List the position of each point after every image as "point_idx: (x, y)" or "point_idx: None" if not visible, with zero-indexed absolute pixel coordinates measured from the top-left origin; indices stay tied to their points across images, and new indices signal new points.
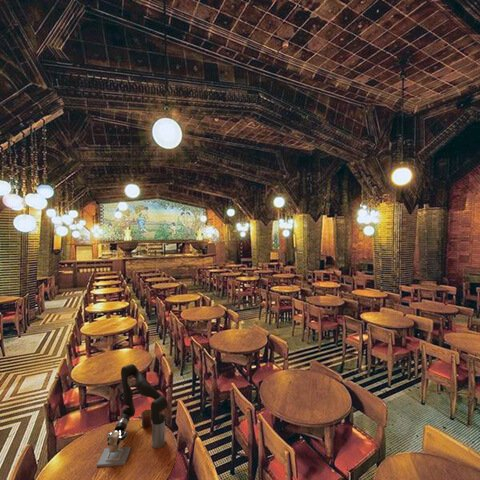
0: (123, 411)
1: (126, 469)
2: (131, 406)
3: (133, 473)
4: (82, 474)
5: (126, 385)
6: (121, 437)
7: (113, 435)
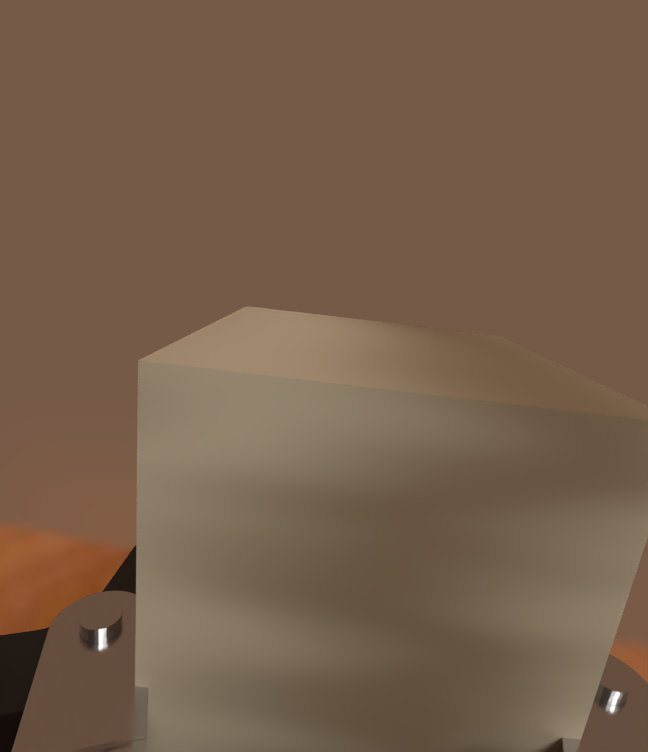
0: None
1: (67, 605)
2: None
3: (5, 544)
4: (622, 654)
5: None
6: (16, 679)
7: (392, 335)
